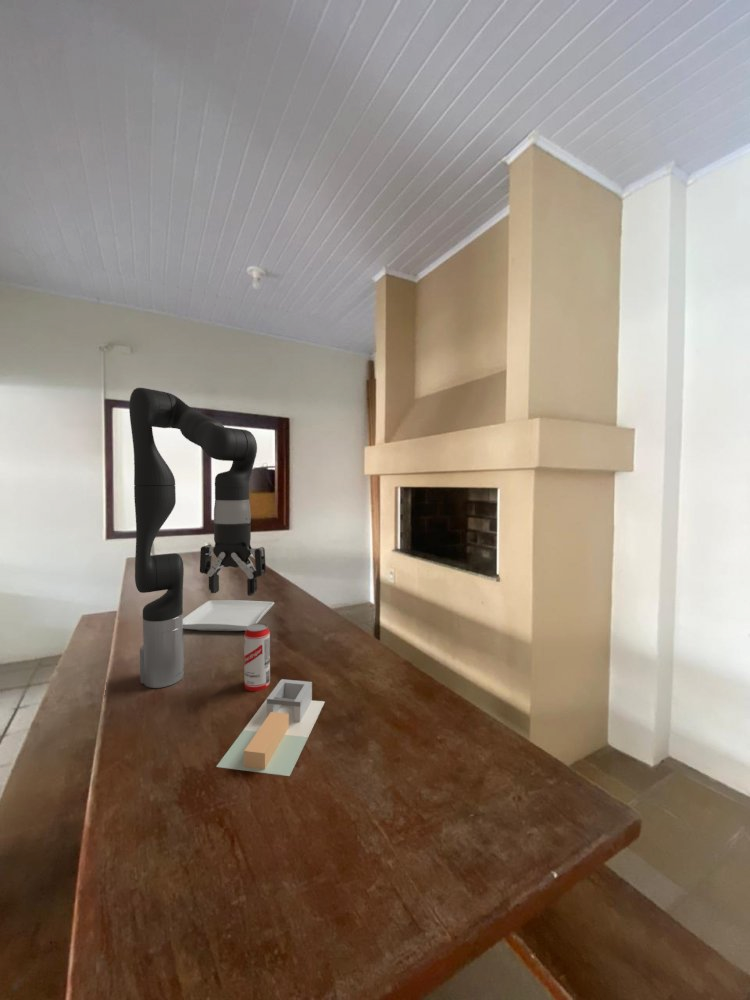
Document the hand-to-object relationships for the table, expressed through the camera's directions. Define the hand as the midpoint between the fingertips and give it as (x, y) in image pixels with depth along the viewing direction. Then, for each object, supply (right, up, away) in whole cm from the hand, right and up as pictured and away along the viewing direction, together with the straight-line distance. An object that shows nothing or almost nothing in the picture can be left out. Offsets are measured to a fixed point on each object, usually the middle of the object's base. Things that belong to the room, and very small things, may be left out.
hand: (233, 593), depth 86 cm
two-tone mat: (+11, -29, -4) cm, 31 cm away
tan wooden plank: (+10, -28, -9) cm, 31 cm away
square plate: (-23, -25, +60) cm, 69 cm away
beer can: (+1, -28, +13) cm, 31 cm away
